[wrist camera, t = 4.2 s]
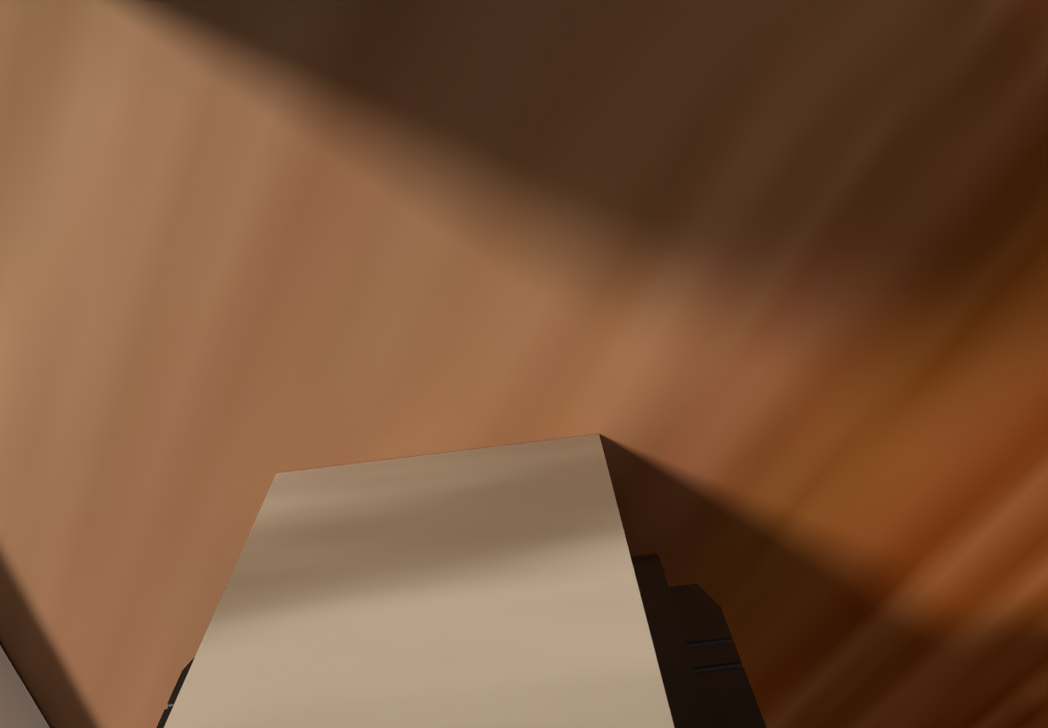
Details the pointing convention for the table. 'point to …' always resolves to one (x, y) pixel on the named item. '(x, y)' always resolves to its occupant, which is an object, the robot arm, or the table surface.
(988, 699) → the table surface
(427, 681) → the birch block
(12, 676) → the build plate
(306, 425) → the table surface
